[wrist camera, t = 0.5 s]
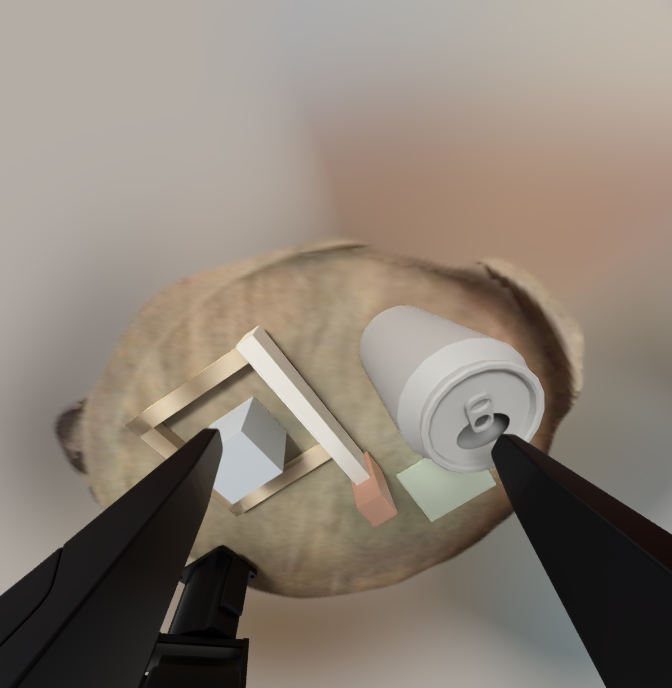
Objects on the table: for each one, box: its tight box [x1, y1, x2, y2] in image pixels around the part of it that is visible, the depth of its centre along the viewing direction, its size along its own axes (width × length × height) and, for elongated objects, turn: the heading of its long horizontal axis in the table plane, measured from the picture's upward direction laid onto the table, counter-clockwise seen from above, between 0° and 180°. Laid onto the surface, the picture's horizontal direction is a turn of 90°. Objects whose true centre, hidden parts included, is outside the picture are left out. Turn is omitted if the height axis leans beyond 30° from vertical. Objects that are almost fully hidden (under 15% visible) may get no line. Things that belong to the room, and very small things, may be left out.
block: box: [209, 396, 287, 504], centre depth 22 cm, size 5×5×5 cm
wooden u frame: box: [126, 348, 332, 516], centre depth 23 cm, size 12×14×1 cm
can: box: [359, 306, 544, 473], centre depth 17 cm, size 8×8×12 cm
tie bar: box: [236, 325, 398, 527], centre depth 21 cm, size 2×20×5 cm, turn 33°
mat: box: [396, 458, 496, 522], centre depth 29 cm, size 9×9×1 cm
